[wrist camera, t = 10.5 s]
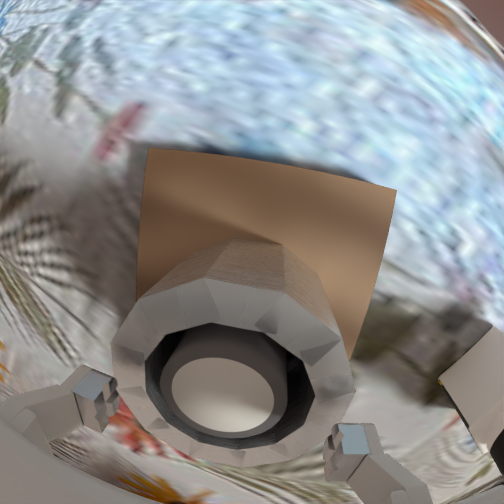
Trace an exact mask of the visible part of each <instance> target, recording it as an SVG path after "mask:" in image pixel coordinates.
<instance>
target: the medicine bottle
mask: <svg viewBox="0 0 504 504" xmlns="http://www.w3.org/2000/svg"><path fill="white" fill-rule="evenodd" d="M438 382H439V384H440V385H441V387H442V388H443V390H444V391H445V393H446V395H447V396H448V398H449V399H450V401H451V403H452V404H453V406H454V408H455V409H456V411H457V413H458V414H459V416H460V417H461V419H462V421H463V422H464V424H465V426H466V427H467V429H468V431H469V432H470V434H471V436H472V437H473V439H474V441H475V443H476V444H477V446H478V448H479V450H480V451H481V453H482V454H485V453H487V452H488V451H489V452H490V454H491V456H492V458H493V459H494V461H495V463H496V465H497V467H498V468H499V470H500V472H501V474H502V475H504V333H503V332H502V331H500V330H499V329H498V328H497V327H495V326H493V327H492V328H491V329H490V330H489V331H488V332H487V333H486V334H485V335H484V336H483V337H482V338H481V339H480V340H479V341H478V342H477V343H476V344H475V345H474V346H473V347H472V348H471V349H470V350H469V351H468V352H466V353H465V354H464V355H463V356H462V357H461V358H460V359H459V360H458V361H457V362H455V363H454V364H453V365H452V366H451V367H450V368H449V369H447V370H446V371H445V372H444V373H443V374H441V375H440V376H439V377H438Z"/></svg>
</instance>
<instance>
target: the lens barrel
mask: <svg viewBox="0 0 504 504" xmlns="http://www.w3.org/2000/svg"><path fill="white" fill-rule="evenodd" d="M210 322H212V323H217V324H222V325H227V326H232V327H237V328H242V329H247V330H253V331H258V332H264V333H265V334H266V335H268V336H269V337H270V338H272V339H273V340H275V341H276V342H277V343H279V344H280V345H281V346H283V347H284V348H285V349H287V406H286V410H285V412H284V414H283V416H282V418H281V419H280V420H279V421H278V422H277V423H276V424H275V425H274V426H273V427H272V428H270V429H268V430H267V431H265V432H263V433H260V434H258V435H254V436H250V437H245V438H223V437H217V436H213V435H209V434H206V433H203V432H201V431H199V430H196V429H194V428H192V427H191V426H189V425H187V424H186V423H184V422H183V421H182V420H181V419H179V418H178V417H177V416H176V415H175V414H174V413H173V412H172V411H171V409H170V408H169V407H168V405H167V404H166V402H165V400H164V398H163V395H162V392H161V386H160V379H161V374H162V371H163V369H164V367H165V365H166V363H167V362H168V360H169V358H170V357H171V355H172V354H173V352H174V350H175V349H176V347H177V345H178V344H179V342H180V340H181V339H182V337H183V336H184V334H185V332H186V331H187V329H188V328H191V327H195V326H199V325H202V324H206V323H210ZM110 343H111V353H112V363H113V371H114V378H116V379H117V383H118V386H117V388H116V390H117V392H118V393H119V394H120V396H121V397H122V399H123V400H124V402H125V403H126V404H127V406H128V407H129V409H130V410H131V411H132V413H133V414H134V415H135V417H136V418H137V419H138V421H139V422H140V423H141V425H142V426H143V427H144V428H145V429H146V430H147V431H149V432H150V433H152V434H153V435H155V436H156V437H158V438H159V439H161V440H163V441H164V442H166V443H167V444H169V445H171V446H172V447H174V448H176V449H177V450H179V451H181V452H183V453H184V454H186V455H188V456H190V457H194V458H198V459H202V460H207V461H211V462H216V463H221V464H226V465H232V466H238V467H247V466H255V465H263V464H270V463H276V462H282V461H288V460H293V459H295V458H296V457H298V456H300V455H302V454H303V453H305V452H307V451H308V450H310V449H312V448H313V447H315V446H316V445H318V444H320V443H321V442H323V441H324V440H326V438H327V437H328V436H329V435H331V434H332V431H331V429H332V427H333V425H334V424H335V423H340V422H341V420H342V419H343V417H344V415H345V413H346V411H347V409H348V406H349V404H350V402H351V400H352V398H353V396H354V394H355V392H356V389H355V386H354V382H353V378H352V374H351V370H350V366H349V362H348V358H347V354H346V350H345V347H344V343H343V339H342V336H341V333H340V330H339V328H338V325H337V322H336V320H335V317H334V314H333V312H332V309H331V306H330V304H329V301H328V298H327V296H326V293H325V291H324V288H323V286H322V283H321V281H320V278H319V275H318V274H317V273H316V272H314V271H313V270H312V269H311V268H310V267H309V266H307V265H306V264H305V263H304V262H303V261H302V260H300V259H299V258H298V257H297V256H296V255H294V254H293V253H292V252H291V251H290V250H288V249H287V248H286V247H285V246H284V245H281V244H276V243H270V242H265V241H259V240H254V239H248V238H242V237H237V236H235V237H232V238H230V239H227V240H224V241H221V242H219V243H216V244H213V245H211V246H208V247H205V248H202V249H200V250H197V251H194V252H192V253H191V254H190V255H189V256H188V257H187V258H185V259H184V260H183V261H182V262H181V263H180V264H178V265H177V266H176V267H175V268H174V269H173V270H171V271H170V272H169V273H168V274H167V275H166V276H164V277H163V278H162V279H161V280H160V281H159V282H157V283H156V284H155V285H154V286H153V287H152V288H151V289H149V290H148V291H147V292H146V293H145V294H144V295H143V296H142V297H140V298H139V299H138V301H137V302H136V304H135V305H134V307H133V308H132V310H131V311H130V313H129V314H128V316H127V317H126V319H125V321H124V322H123V324H122V325H121V327H120V328H119V330H118V331H117V333H116V335H115V336H114V338H113V339H112V341H111V342H110Z"/></svg>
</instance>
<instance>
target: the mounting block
mask: <svg viewBox="0 0 504 504" xmlns="http://www.w3.org/2000/svg"><path fill="white" fill-rule="evenodd" d="M396 193H397V190H395V189H391V188H387V187H384V186H380V185H376V184H372V183H368V182H364V181H360V180H356V179H352V178H347V177H343V176H338V175H334V174H329V173H325V172H320V171H315V170H310V169H305V168H300V167H294V166H289V165H283V164H278V163H272V162H266V161H260V160H253V159H247V158H240V157H233V156H225V155H217V154H209V153H200V152H191V151H181V150H170V149H157V148H149V149H148V156H147V162H146V170H145V177H144V185H143V194H142V203H141V213H140V225H139V238H138V255H137V280H136V302H137V301H138V299H139V298H140V297H142V296H143V295H144V294H145V293H146V292H147V291H148V290H149V289H151V288H152V287H153V286H154V285H155V284H156V283H157V282H159V281H160V280H161V279H162V278H163V277H164V276H166V275H167V274H168V273H169V272H170V271H171V270H173V269H174V268H175V267H176V266H177V265H178V264H180V263H181V262H182V261H183V260H184V259H185V258H187V257H188V256H189V255H190V254H191V253H192V252H194V251H197V250H200V249H202V248H205V247H208V246H211V245H213V244H216V243H219V242H221V241H224V240H227V239H230V238H232V237H235V236H237V237H242V238H248V239H254V240H259V241H265V242H270V243H276V244H281V245H284V246H285V247H286V248H287V249H288V250H290V251H291V252H292V253H293V254H294V255H296V256H297V257H298V258H299V259H300V260H302V261H303V262H304V263H305V264H306V265H307V266H309V267H310V268H311V269H312V270H313V271H314V272H316V273H317V274H318V275H319V278H320V281H321V283H322V286H323V288H324V291H325V293H326V296H327V298H328V301H329V304H330V306H331V309H332V312H333V314H334V317H335V320H336V322H337V325H338V328H339V330H340V333H341V336H342V339H343V343H344V347H345V350H346V354H347V358H348V362H349V361H350V358H351V355H352V353H353V350H354V347H355V345H356V342H357V339H358V336H359V333H360V330H361V327H362V325H363V322H364V319H365V315H366V312H367V309H368V306H369V303H370V300H371V296H372V293H373V290H374V286H375V283H376V279H377V276H378V272H379V268H380V265H381V261H382V257H383V253H384V249H385V245H386V241H387V236H388V232H389V227H390V223H391V218H392V213H393V208H394V203H395V198H396Z"/></svg>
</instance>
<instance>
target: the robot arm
mask: <svg viewBox="0 0 504 504" xmlns="http://www.w3.org/2000/svg"><path fill="white" fill-rule="evenodd" d="M117 386H118V383H117V379H116V378H114V377H112V376H109V375H107V374H105V373H102V372H100V371H97V370H95V369H92V368H90V367H88V366H86V365H81V366H79V367H78V368H77V369H76V370H75V371H74V372H73V373H72V374H71V375H70V376H69V377H68V378H67V379H66V380H65V381H64V382H63V383H62V384H61V385H60V386H59V385H54V386H50V387H46V388H42V389H38V390H34V391H30V392H25V393H21V394H17V395H12V396H10V397H9V398H7V399H6V400H5V401H4V402H3V403H2V404H1V405H0V504H163V503H160V502H157V501H154V500H151V499H148V498H145V497H142V496H139V495H136V494H134V493H131V492H128V491H126V490H123V489H121V488H118V487H116V486H114V485H111V484H109V483H107V482H104V481H102V480H100V479H98V478H96V477H94V476H91V475H89V474H87V473H85V472H83V471H81V470H79V469H78V468H76V467H74V466H72V465H70V464H68V463H66V462H65V461H63V460H61V459H59V458H58V457H56V456H54V453H53V450H52V448H51V446H50V444H49V443H48V442H50V441H52V440H55V439H57V438H59V437H61V436H64V435H66V434H68V433H70V432H72V431H74V430H77V429H79V428H81V427H83V425H84V426H86V427H89V428H91V429H93V430H96V431H98V432H100V433H102V432H103V431H104V429H105V428H106V426H107V425H108V423H109V419H108V417H110V416H113V415H114V414H115V413H116V411H117V409H118V406H119V402H120V397H119V393H118V392H117V390H116V388H117ZM331 431H332V434H331V435H329V436H328V437H327V438H326V441H325V443H324V447H323V459H324V460H325V461H326V462H327V464H326V466H325V467H324V470H325V480H326V481H347V483H348V484H349V486H350V487H351V488H352V489H353V491H354V492H355V493H356V494H357V495H358V497H359V498H360V499H361V500H362V501H363V503H364V504H433V502H432V499H431V496H430V493H429V490H428V487H427V485H426V484H425V483H423V482H422V481H421V480H420V479H418V478H417V477H416V476H414V475H413V474H412V473H411V472H409V471H408V470H407V469H406V468H404V467H403V466H402V465H401V464H399V463H398V462H397V461H396V460H395V459H393V458H392V457H391V456H390V455H388V454H384V452H383V449H382V446H381V443H380V439H379V436H378V433H377V430H376V427H375V425H374V424H373V423H361V424H360V423H335V424H334V425H333V427H332V429H331ZM451 504H504V485H499V486H496V487H494V488H491V489H489V490H487V491H484V492H482V493H479V494H477V495H474V496H471V497H469V498H466V499H463V500H460V501H457V502H454V503H451Z"/></svg>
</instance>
